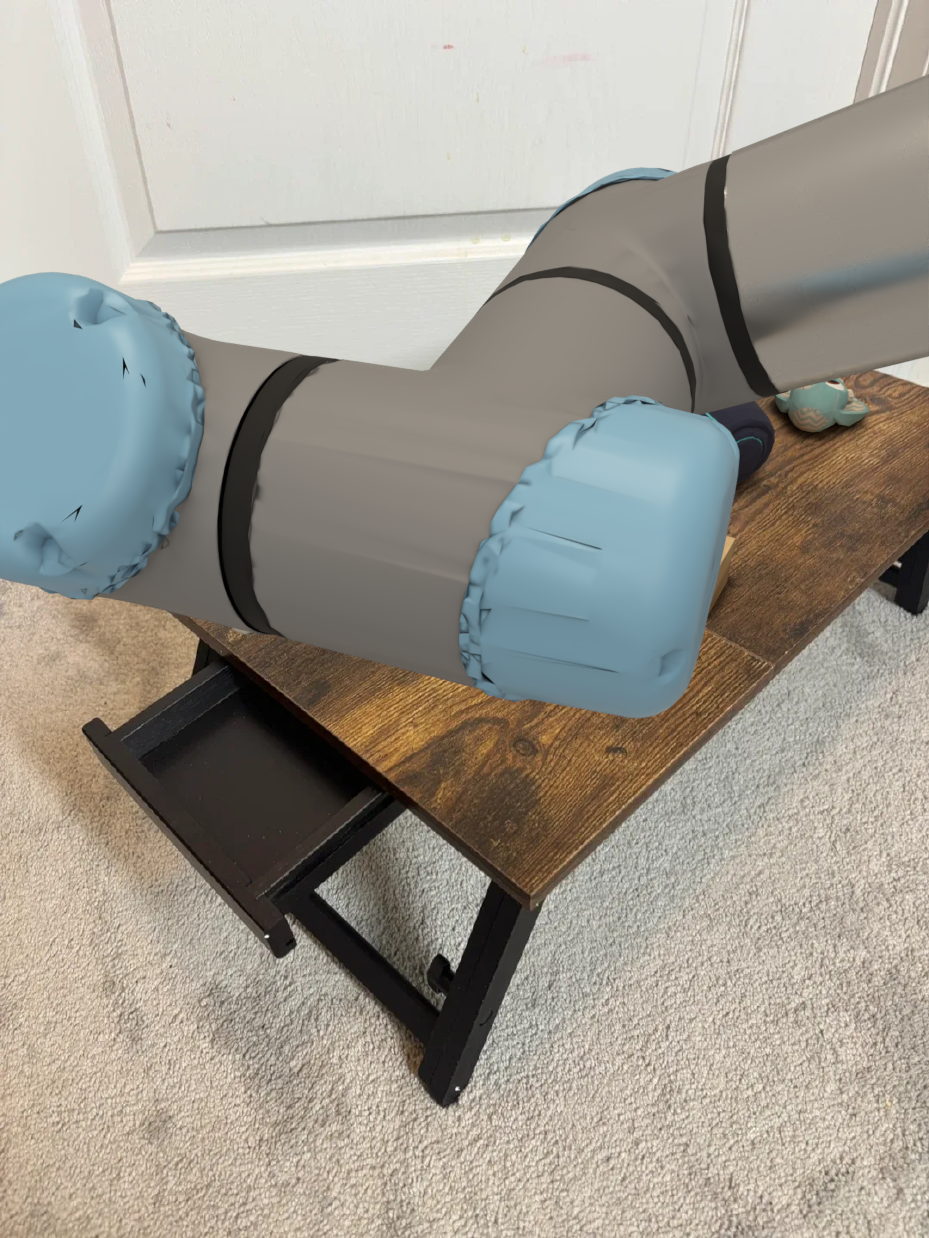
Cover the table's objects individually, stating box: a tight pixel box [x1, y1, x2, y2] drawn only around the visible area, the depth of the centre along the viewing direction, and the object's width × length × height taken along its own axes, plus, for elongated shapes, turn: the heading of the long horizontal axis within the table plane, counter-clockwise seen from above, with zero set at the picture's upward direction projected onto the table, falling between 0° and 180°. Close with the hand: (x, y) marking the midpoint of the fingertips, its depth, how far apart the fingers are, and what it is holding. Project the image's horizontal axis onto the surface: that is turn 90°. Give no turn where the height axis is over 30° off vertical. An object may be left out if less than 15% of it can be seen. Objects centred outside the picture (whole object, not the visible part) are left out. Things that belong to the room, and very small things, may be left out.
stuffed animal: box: [773, 378, 870, 433], centre depth 104 cm, size 11×7×12 cm
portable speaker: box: [700, 401, 776, 485], centre depth 100 cm, size 25×10×10 cm, turn 27°
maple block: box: [708, 535, 736, 614], centre depth 83 cm, size 5×5×5 cm
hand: (470, 587), depth 58 cm, fingers closed
